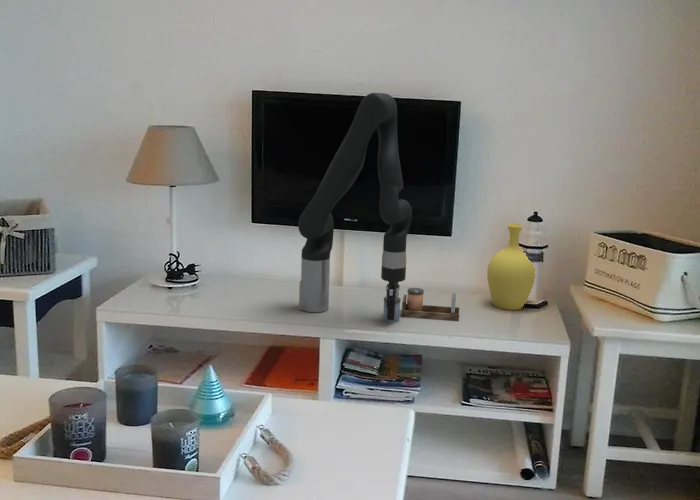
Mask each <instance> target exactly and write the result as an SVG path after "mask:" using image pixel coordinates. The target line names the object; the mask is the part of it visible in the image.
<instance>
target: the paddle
mask: <svg viewBox="0 0 700 500" xmlns="http://www.w3.org/2000/svg"><path fill="white" fill-rule="evenodd" d="M456 300H457V293H456V292H452V293H451V301H450V302H451V303H450V307H451V314H455V307H456V303H457V302H456Z"/></svg>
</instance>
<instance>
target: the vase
mask: <svg viewBox="0 0 700 500" xmlns="http://www.w3.org/2000/svg"><path fill="white" fill-rule="evenodd" d="M523 227H524V226H523V225H522V224H517V223H509V224H507V228H508V231H509V232H508V233H509V241H508V245H507V246H505V247H504V248H503V249H500V251H498V252H496V253H495V254H494V255H493V256H492V257H491V259H490V260H489V263H488V266H487V273H486V274H487V275H486V276H487V284H488V289H489V293H490V297H491V300H492V304H493V306H495V307H496V308H498V309H502V310H503V309H504V310H510V311H511V310H513V311H514V310H516V311H517V310H522V309H523V308H522V307H523V306H524V304H525V303H527V302H528V299H529V297H530V295H531V292H532V290H531V289H533V286H534V282H535V280H536V274H535V270H536V267H535V268H534V266H533V264H532V263H531V261H530V260H529V259H528V257H527V256H526V255H525V254H524V253H523V251H524V250H523V249H522V248H520V244H519V243H520V242H519V236H520V233H521V231H522V228H523ZM522 250H523V251H522ZM534 279H535V280H534ZM529 294H530V295H529ZM528 296H529V297H528ZM526 301H527V302H526ZM525 305H526V304H525ZM524 307H525V306H524ZM521 308H522V309H521Z"/></svg>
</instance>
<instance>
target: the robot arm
mask: <svg viewBox="0 0 700 500" xmlns="http://www.w3.org/2000/svg"><path fill="white" fill-rule="evenodd" d="M376 130H377V137H378V152H377V167H376V168H377V175H378V180H379V186H380V191H379V208H378V209H379V215H380V217H381V219H382V221H383V222H384V223H385V224H387V225H390V227H389V229H388V230H387V231H386V232H385V233H384V235H383V242H382V243H383V245H382V255H381V272H380V273H381V274H380V278H381V279H382V281H384V282H388V283H387V284H386V286H385V287H386V288H385V292H386V296H385V297H386V300H387V305H386V307H387V319H388V320H394V315H395V307H396V306H395V302H396V301H397V298H398V297H399V293H400V292H399V291H400V286H401V285H400V284H399V283H400V282H404V281H405V280H406V279H407V278H406V274H407V271H406V270H407V237H408V233H409V230H410V227H411V222H412V219H413V218H412V217H413V210H412V206H411V204H410V203H409V201H407V200H406V199H399V195H400V194H399V193H400V192H401V191H402V190H403V189H404V180H403V173H402V167H401V160H400V154H399V142H398V140H399V139H398V106H397V102H396V100H395V98H394V97H393V96H392V95H390V94H389V93H384V92H383V93H382V92H372V93H369V94H367V95H365V96H364V97H363V98H362V100H361V101H360V104H359V105H358V108H357V110H356V112H355V115H354V118H353V121H352V123H351V125H350V127H349V129H348V131H347V133H346V134H345V137H344V138H343V140H342V142H341V144H340V146H339V148H338V149H337V151H336V153H335V154H334V156H333V157H332V161H331V162H330V164H329V166H328V168H327V169H326V172H325V174H324V176H323V178H322V179H321V182H320V183H319V186H318V187H317V190H316V192H315V194H314V195H313V197H312V199H310V202H308V205H307V206H306V207H305V208H304V210H303V212H302V213H301V214H300V216H299V219H298V223H297V224H298V225H297V226H298V232H299V233H300V234H301V236H302V237H303V238H305V239H306V241H305V244H304V246H303V247H302V249H301V255H300V256H301V261H300V262H301V265H300V267H301V272H300V273H301V274H300V281H299V286H298V287H299V290H298V292H299V296H298V298H299V299H298V301H299V302H298V310H299V311H304V312H307V313H323V312H327V311H328V310H329V306H330V302H329V301H330V267H331V253H332V249H333V245H334V244H333V243H334V228H335V227H334V226H335V225H334V217H333V215H332V211H333V209H334V207H335V206H336V204H337V203H338V202H339V201H340V200H341V199H342V198H343V196H345V194H346V193H347V192H348V191H349V190H350V189H351V187H352V186H353V185H354V183H355V181H356V180H357V179H358V176H359V174H360V172H361V171H362V169H363V167H364V165H365V159H366V155H367V149H368V145H369V142H370V140H371V137H372V136H373V135H374V133H375V131H376ZM389 301H393V304H389Z"/></svg>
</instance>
